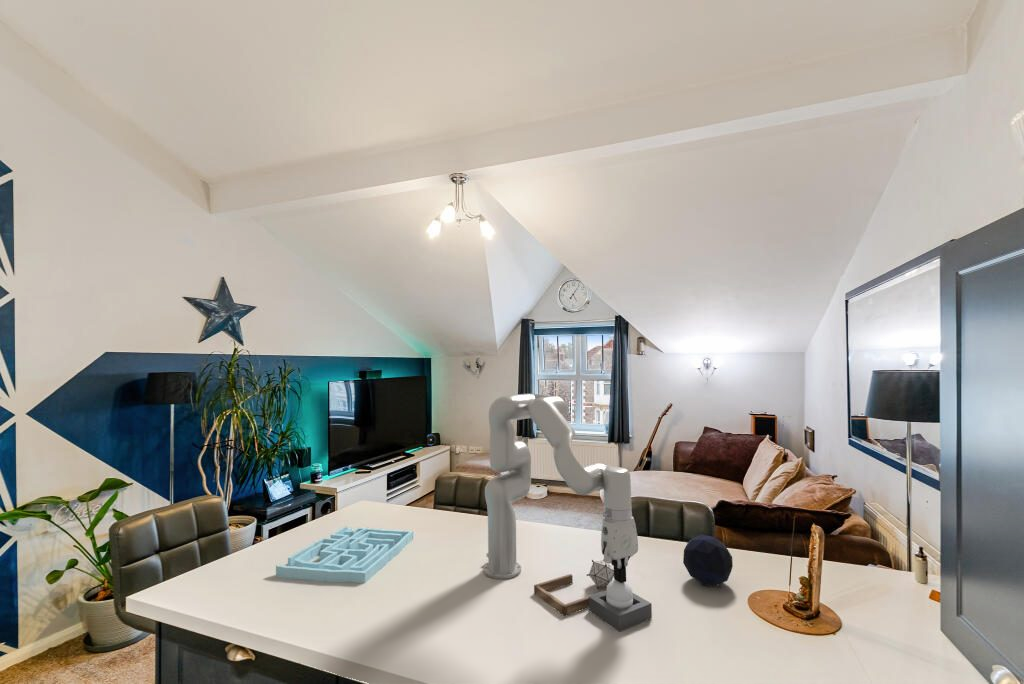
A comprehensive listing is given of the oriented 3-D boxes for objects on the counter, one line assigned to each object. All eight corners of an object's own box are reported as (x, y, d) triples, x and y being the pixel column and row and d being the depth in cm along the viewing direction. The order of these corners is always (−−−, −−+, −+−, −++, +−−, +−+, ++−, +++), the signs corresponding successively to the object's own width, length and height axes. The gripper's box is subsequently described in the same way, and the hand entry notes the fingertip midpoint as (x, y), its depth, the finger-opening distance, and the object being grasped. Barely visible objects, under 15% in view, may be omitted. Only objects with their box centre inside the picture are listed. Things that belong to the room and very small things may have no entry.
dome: (601, 604, 129) (600, 578, 129) (619, 597, 133) (619, 572, 133) (619, 616, 123) (618, 588, 123) (638, 609, 127) (638, 582, 127)
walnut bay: (534, 593, 140) (534, 585, 140) (570, 582, 147) (570, 573, 147) (564, 616, 127) (564, 607, 127) (602, 602, 134) (602, 593, 134)
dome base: (588, 611, 130) (588, 596, 130) (620, 599, 136) (620, 585, 136) (619, 631, 119) (619, 616, 120) (651, 618, 126) (651, 603, 126)
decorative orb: (667, 555, 153) (684, 528, 145) (704, 549, 158) (722, 523, 150) (691, 598, 142) (711, 571, 134) (730, 591, 147) (751, 564, 139)
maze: (340, 534, 192) (340, 525, 193) (414, 539, 186) (414, 530, 186) (272, 578, 153) (273, 566, 153) (364, 586, 147) (364, 574, 147)
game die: (607, 601, 142) (617, 583, 137) (581, 588, 144) (590, 570, 139) (612, 575, 150) (622, 558, 144) (587, 564, 152) (596, 546, 146)
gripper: (607, 522, 122) (609, 593, 121) (647, 511, 130) (649, 579, 129) (588, 514, 128) (590, 582, 127) (627, 505, 136) (629, 569, 135)
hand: (620, 580), depth 128 cm, fingers closed
